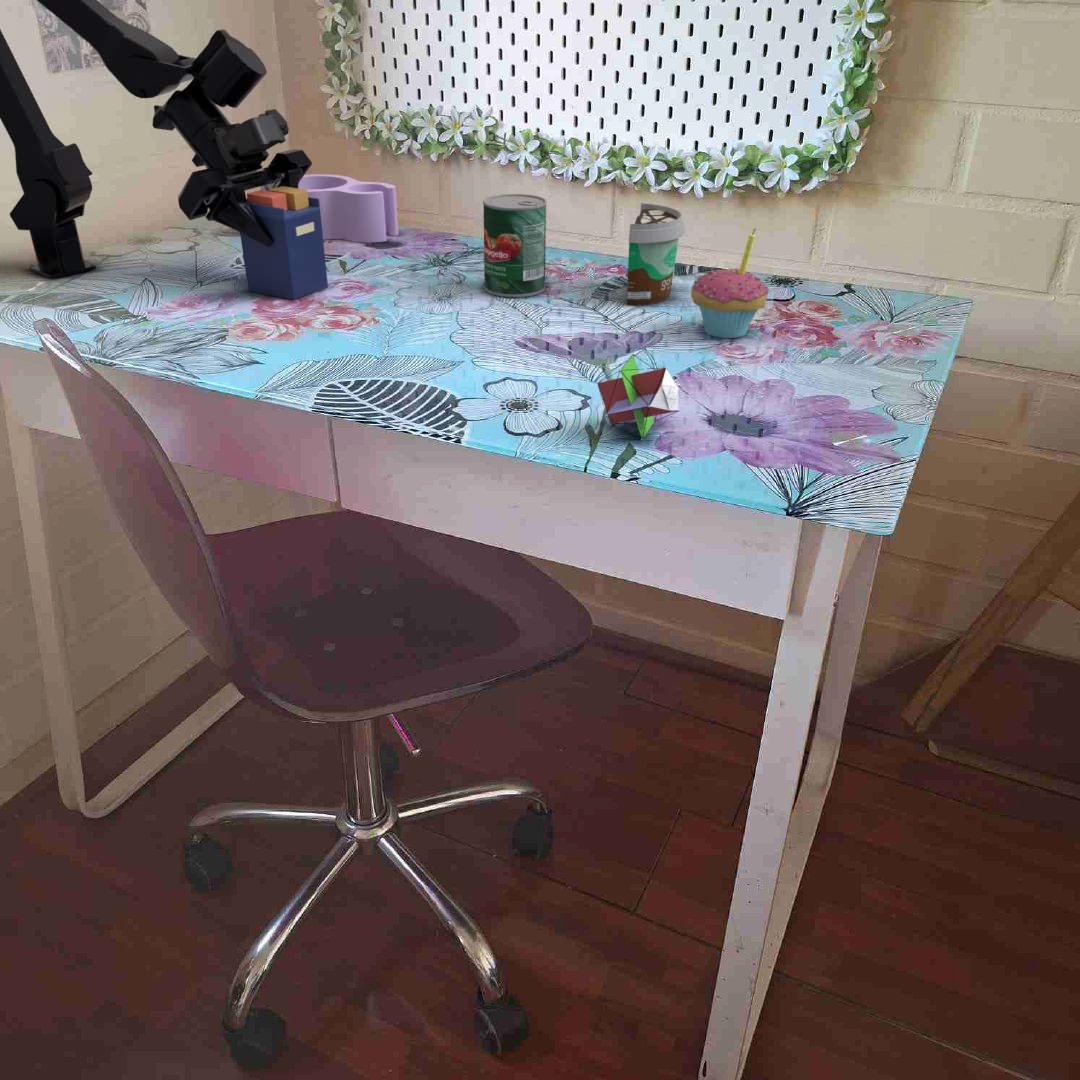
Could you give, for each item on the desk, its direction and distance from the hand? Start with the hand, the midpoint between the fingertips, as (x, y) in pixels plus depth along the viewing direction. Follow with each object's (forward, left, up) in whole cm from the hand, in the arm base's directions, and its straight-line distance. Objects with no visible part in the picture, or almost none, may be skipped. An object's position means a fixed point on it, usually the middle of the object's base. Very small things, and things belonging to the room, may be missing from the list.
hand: (290, 238), depth 122 cm
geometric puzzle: (+57, -5, -7) cm, 57 cm away
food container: (+35, +30, -7) cm, 46 cm away
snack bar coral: (-1, -2, +3) cm, 4 cm away
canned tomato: (+20, +20, -7) cm, 29 cm away
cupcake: (+49, +24, -7) cm, 55 cm away
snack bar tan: (-1, +1, +3) cm, 4 cm away
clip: (-20, +23, -7) cm, 31 cm away
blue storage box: (-1, 0, -7) cm, 7 cm away
